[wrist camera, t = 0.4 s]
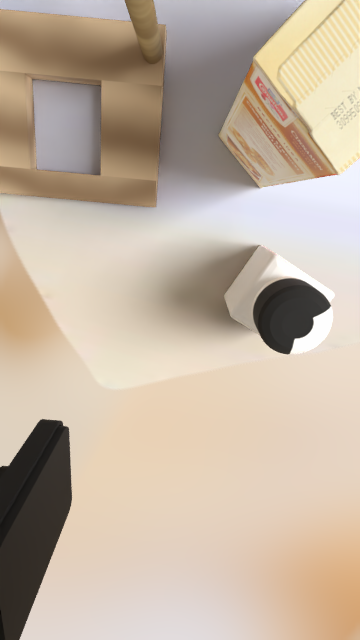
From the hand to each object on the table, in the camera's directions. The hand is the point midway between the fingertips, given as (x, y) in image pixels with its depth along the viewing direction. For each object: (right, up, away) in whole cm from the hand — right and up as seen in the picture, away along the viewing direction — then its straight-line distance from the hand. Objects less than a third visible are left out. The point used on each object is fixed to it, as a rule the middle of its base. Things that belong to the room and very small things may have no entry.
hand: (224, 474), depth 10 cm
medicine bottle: (+8, +8, +29) cm, 31 cm away
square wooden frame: (-12, +24, +23) cm, 36 cm away
